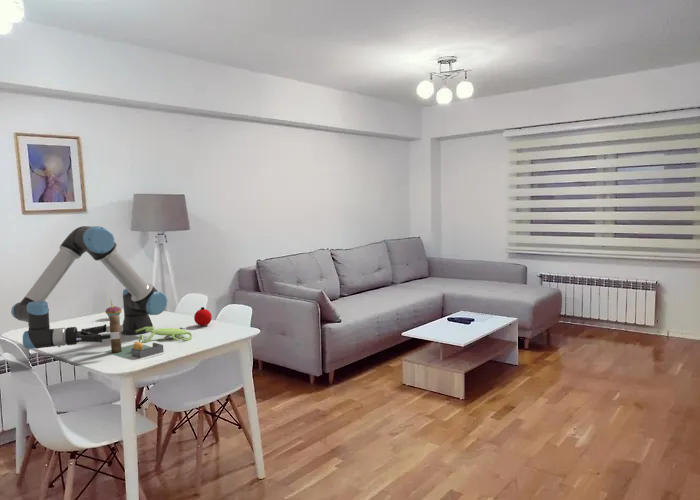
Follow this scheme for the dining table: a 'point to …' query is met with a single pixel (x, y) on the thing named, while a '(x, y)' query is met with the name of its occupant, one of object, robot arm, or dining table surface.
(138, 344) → the ball
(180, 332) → the figurine
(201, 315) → the ornament
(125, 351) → the mat
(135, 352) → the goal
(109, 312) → the cupcake
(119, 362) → the dining table surface
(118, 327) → the peg
